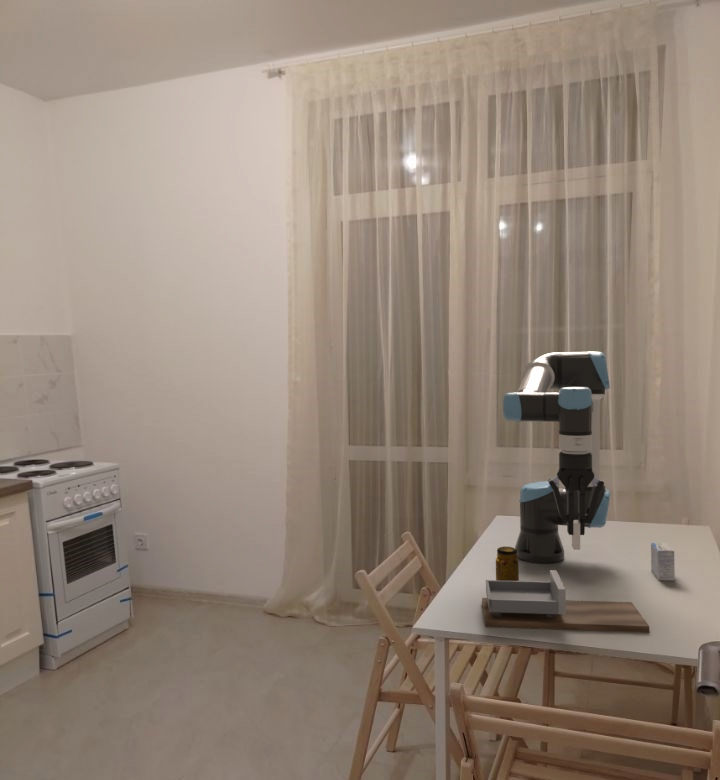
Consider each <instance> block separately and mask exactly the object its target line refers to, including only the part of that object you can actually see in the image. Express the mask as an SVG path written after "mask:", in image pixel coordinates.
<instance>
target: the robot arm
mask: <svg viewBox="0 0 720 780" xmlns="http://www.w3.org/2000/svg"><path fill="white" fill-rule="evenodd" d="M607 364H608V363H607V358H606V355H605V353H604V352H601V351H594V350H593V351H590V350H587V351H560V352H558V351H555V352H549V353H546V354H545V353H544V354H542V355H540V356H538V357H536V358H534V359H533V360H531V361H530V362H528V363H527V364H526V366H525V367H524V369H523V371H522V374H521V375H522V381H521V383H520V385H519V388H518V389H517V391H513V392H506V393H505V394H504V396H503V400H502V412H503V413H502V414H503V417H504V419H505V420H506V421H510V422H517V423H519V422H547V423H548V422H549V423H550V422H552V423H553V422H554V423H558V426H559V427H558V428H559V429H558V449H559V450H560V452H559V453H558V466H559V467H558V471H557V473H556V476H554V477H553V478H549V479H548V480H545V481H544V480H543V481H536V482H531V483H528V484H527V483H526V484H524V485H523V486H521V488H520V492H519V500H518V501H519V504H520V505H519V512H520V513H519V515H520V516H519V517H520V519H519V520H520V521H519V522H520V524H519V525H520V527H519V528H520V530H519V534H518V537H517V540H516V543H515V546H514V548H515V549H516V550H517V559H518V560H519V559H520V560H522V561H525V562H530V563H536V564H537V563H538V564H552V563H558V562H561V561H563V560H564V559H565V549H564V546H563V543H562V540H561V537H560V533H559V526H567V530H566V531H567V534H568V535H569V536H571V547H572V549H573V550H580V551H581V536H584V535H585V534H586V533H585V528H588V529H592V528H593V529H594V528H596V529H597V528H599V529H601V528H604V527H605V526H606V523H607V518H608V512H609V505H610V498H611V490H609V489H607V488H606V483H605V482H604V481H603V480H602V479H601V476H600V475H601V469H600V467H601V461H600V460H601V459H600V458H601V457H600V455H601V454H600V453H601V452H600V450H601V449H600V447H601V445H600V443H601V442H600V441H601V438H600V436H601V434H600V432H601V430H600V428H601V427H600V422H601V420H600V419H601V417H600V413H601V412H600V410H601V409H600V408H601V407H600V406H601V405H600V403H601V399H602V398H604V397H605V395H606V391H607V390H609V389H610V388H611V387H610V380H609V379H610V378H609V371H608V365H607ZM548 390H558V392H547V391H548ZM559 482H560V483H561V484H562V485H563V486H564V487H560V483H559Z"/></svg>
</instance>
